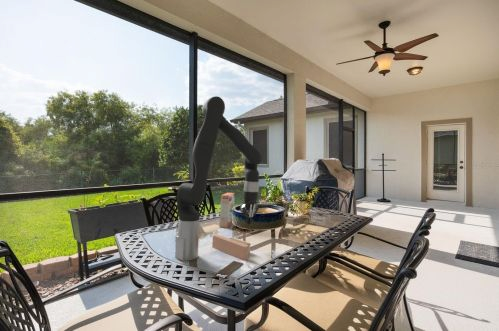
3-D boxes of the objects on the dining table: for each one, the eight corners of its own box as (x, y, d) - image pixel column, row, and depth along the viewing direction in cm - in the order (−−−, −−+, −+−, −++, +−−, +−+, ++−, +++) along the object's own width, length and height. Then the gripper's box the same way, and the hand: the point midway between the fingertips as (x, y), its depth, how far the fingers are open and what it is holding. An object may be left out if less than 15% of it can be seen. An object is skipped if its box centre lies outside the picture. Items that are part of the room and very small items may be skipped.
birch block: (241, 256, 130) (241, 245, 129) (224, 249, 138) (224, 239, 137) (249, 253, 134) (250, 243, 134) (232, 246, 142) (233, 237, 142)
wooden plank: (224, 276, 105) (213, 273, 107) (224, 280, 105) (213, 276, 107) (243, 263, 120) (233, 260, 122) (243, 266, 120) (232, 263, 122)
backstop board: (243, 260, 124) (244, 247, 124) (212, 247, 139) (212, 235, 139) (248, 258, 126) (249, 245, 126) (216, 245, 141) (217, 234, 141)
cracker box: (228, 228, 176) (229, 195, 175) (218, 227, 177) (220, 194, 176) (233, 223, 189) (235, 192, 188) (225, 222, 191) (226, 192, 190)
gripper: (254, 189, 148) (252, 221, 148) (236, 189, 138) (234, 224, 139) (265, 190, 143) (262, 224, 143) (247, 191, 133) (245, 227, 133)
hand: (248, 224), depth 141 cm, fingers closed
